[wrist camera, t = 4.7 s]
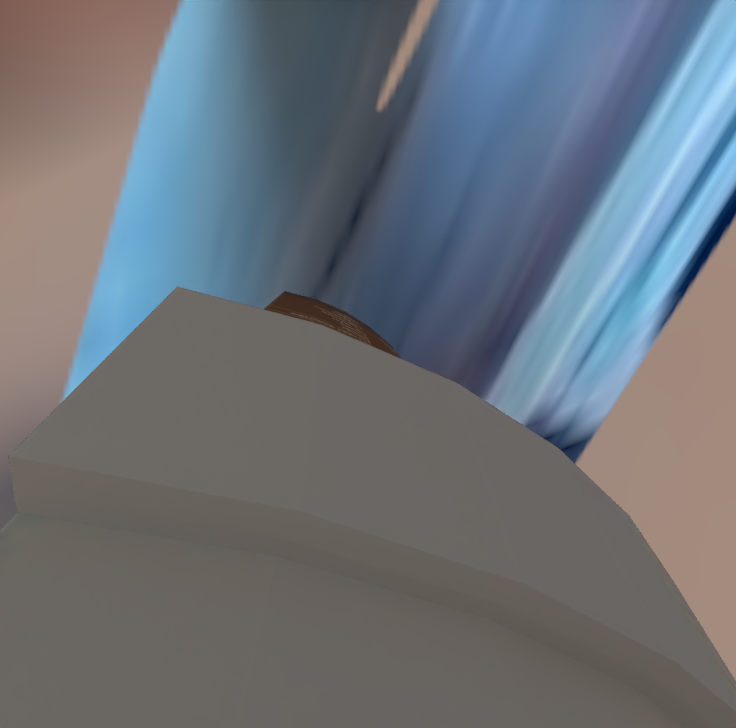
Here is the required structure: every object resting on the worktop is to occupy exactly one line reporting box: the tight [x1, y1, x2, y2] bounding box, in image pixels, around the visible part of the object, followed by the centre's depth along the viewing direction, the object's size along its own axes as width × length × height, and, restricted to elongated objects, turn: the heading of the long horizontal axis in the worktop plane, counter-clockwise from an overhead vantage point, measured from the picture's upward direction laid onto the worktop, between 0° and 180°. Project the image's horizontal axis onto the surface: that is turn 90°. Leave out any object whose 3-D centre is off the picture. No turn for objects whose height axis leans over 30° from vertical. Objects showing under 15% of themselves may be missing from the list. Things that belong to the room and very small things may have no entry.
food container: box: [0, 287, 736, 728], centre depth 8 cm, size 12×6×10 cm, turn 168°
